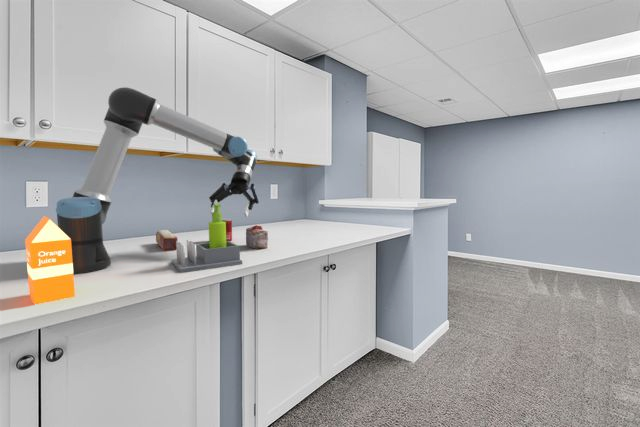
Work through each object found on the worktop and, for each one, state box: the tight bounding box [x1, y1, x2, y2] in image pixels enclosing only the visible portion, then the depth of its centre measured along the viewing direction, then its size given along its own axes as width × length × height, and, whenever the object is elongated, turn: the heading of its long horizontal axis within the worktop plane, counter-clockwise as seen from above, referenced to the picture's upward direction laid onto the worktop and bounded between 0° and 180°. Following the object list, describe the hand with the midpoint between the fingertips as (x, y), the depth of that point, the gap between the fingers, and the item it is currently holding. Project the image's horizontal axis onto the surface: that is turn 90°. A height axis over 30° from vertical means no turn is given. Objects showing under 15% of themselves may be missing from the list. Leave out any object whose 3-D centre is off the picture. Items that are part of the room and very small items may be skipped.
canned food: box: [222, 217, 233, 242], centre depth 157 cm, size 8×8×11 cm
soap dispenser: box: [208, 203, 226, 249], centre depth 114 cm, size 6×7×20 cm
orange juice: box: [24, 215, 76, 305], centre depth 79 cm, size 8×9×20 cm
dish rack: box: [171, 239, 243, 274], centre depth 113 cm, size 20×16×8 cm
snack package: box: [155, 229, 179, 252], centre depth 142 cm, size 21×7×7 cm, turn 34°
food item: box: [245, 224, 269, 250], centre depth 143 cm, size 14×8×10 cm, turn 31°
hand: (228, 214), depth 124 cm, fingers open, 13 cm apart
